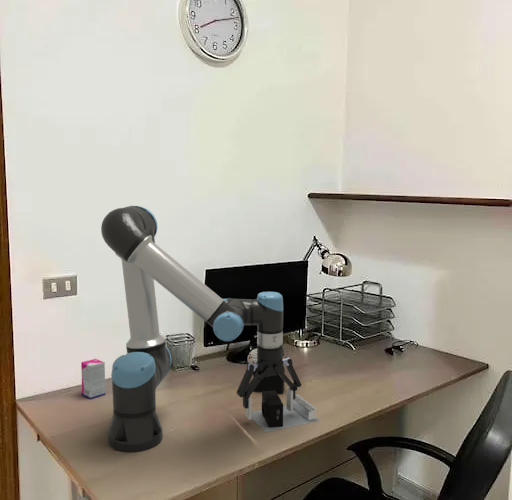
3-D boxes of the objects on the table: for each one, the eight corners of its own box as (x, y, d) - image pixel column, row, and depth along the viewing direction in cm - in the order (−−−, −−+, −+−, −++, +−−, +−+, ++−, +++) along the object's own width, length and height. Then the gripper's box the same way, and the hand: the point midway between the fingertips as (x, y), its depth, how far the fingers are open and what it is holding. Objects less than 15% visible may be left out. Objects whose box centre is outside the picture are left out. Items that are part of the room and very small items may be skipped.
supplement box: (106, 394, 187) (105, 361, 185) (90, 399, 183) (89, 366, 181) (97, 389, 191) (95, 357, 189) (81, 394, 186) (80, 362, 185)
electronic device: (282, 398, 184) (282, 369, 183) (253, 396, 186) (253, 367, 185) (284, 393, 188) (284, 365, 187) (255, 391, 190) (255, 363, 189)
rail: (308, 421, 164) (308, 410, 163) (289, 406, 175) (289, 395, 174) (317, 419, 165) (317, 408, 164) (297, 404, 176) (298, 393, 175)
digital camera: (257, 412, 169) (258, 391, 168) (275, 411, 170) (275, 389, 169) (264, 428, 159) (264, 405, 158) (282, 426, 160) (283, 403, 159)
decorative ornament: (251, 364, 216) (251, 327, 214) (270, 366, 214) (270, 329, 212) (245, 371, 209) (245, 333, 207) (265, 373, 207) (265, 334, 205)
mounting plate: (265, 437, 157) (265, 432, 157) (246, 417, 170) (246, 412, 170) (320, 425, 164) (320, 420, 164) (297, 407, 177) (297, 403, 177)
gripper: (235, 354, 153) (235, 426, 156) (313, 343, 164) (312, 411, 167) (225, 346, 160) (225, 416, 163) (301, 336, 170) (299, 402, 173)
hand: (269, 413), depth 165 cm, fingers open, 13 cm apart
